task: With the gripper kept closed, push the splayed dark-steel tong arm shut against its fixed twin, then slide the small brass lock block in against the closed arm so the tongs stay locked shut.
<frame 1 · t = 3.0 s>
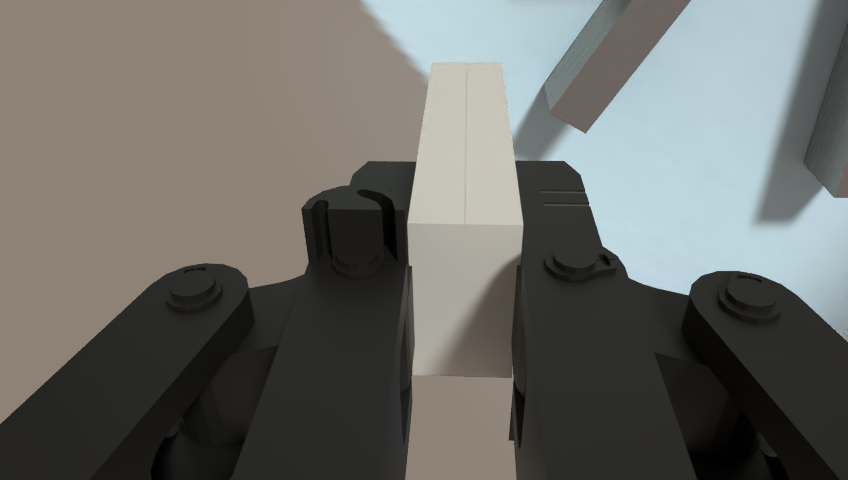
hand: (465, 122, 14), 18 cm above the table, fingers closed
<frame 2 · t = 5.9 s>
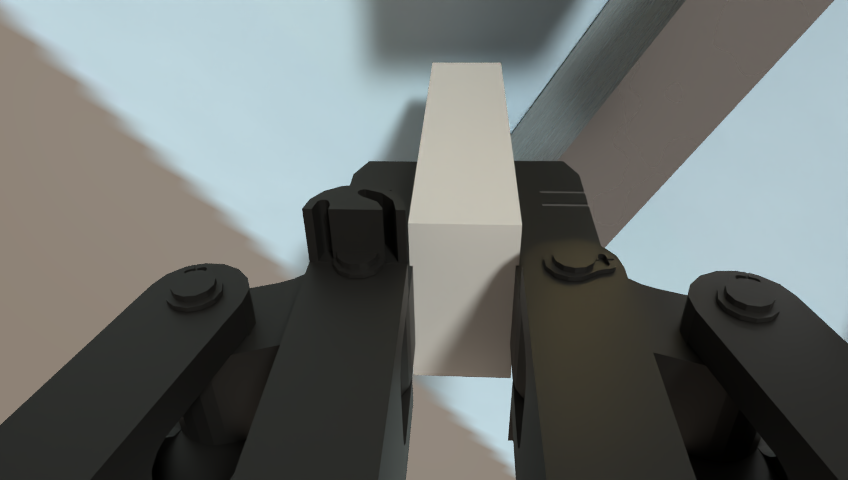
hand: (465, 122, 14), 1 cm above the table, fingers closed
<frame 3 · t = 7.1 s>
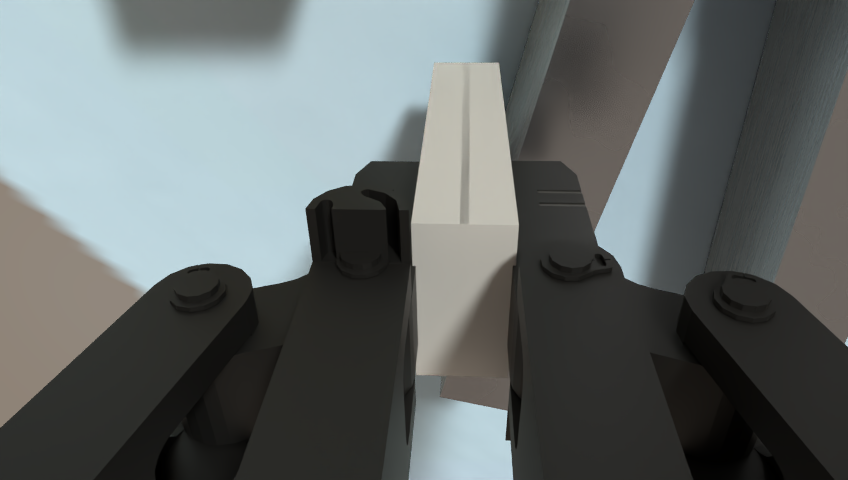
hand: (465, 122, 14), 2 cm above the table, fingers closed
tong arm: (601, 20, 13), point 2 cm above the table, hinge at 13.4°, touching gripper
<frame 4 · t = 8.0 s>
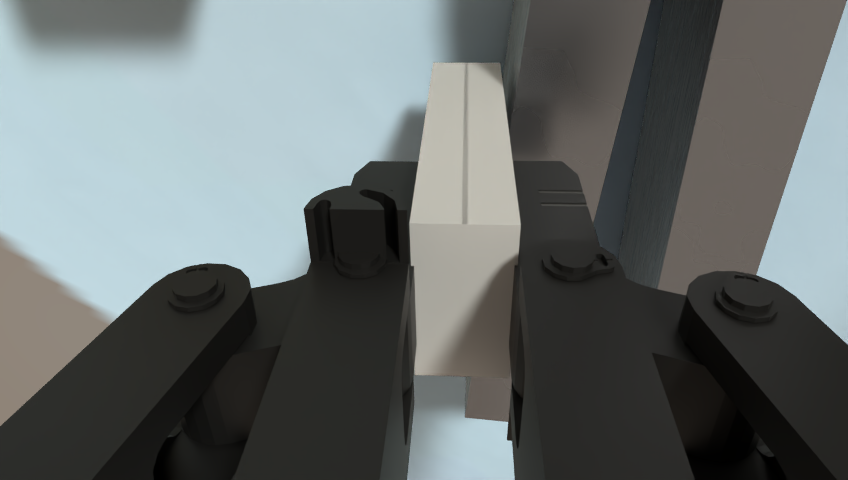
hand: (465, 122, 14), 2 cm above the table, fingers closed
tong arm: (566, 41, 13), point 2 cm above the table, hinge at 5.2°, touching gripper
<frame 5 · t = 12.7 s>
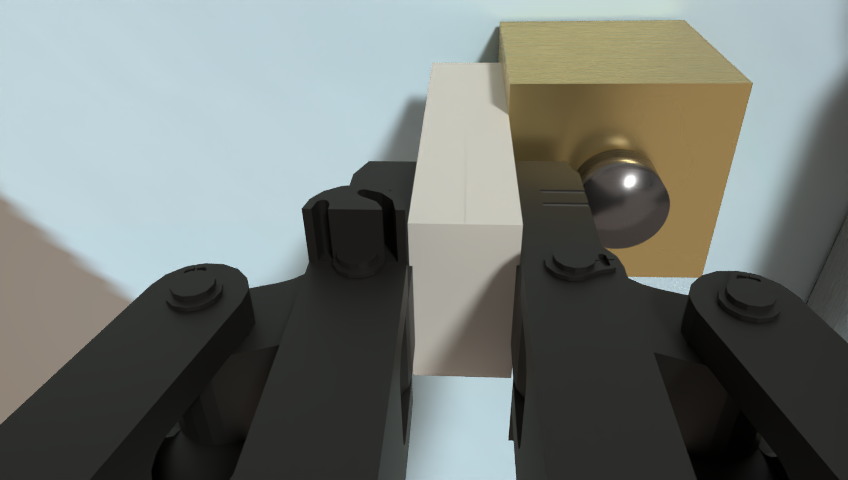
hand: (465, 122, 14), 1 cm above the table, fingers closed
lock block: (598, 151, 13), point 2 cm above the table, slide at 1.4 cm, touching gripper
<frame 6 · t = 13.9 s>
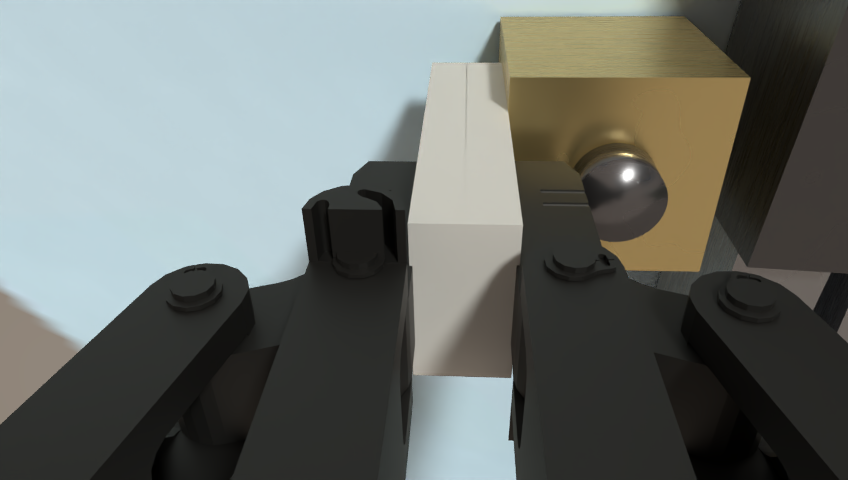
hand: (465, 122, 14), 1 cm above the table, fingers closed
lock block: (598, 145, 13), point 2 cm above the table, slide at 5.5 cm, touching gripper
tong arm: (715, 335, 16), point 2 cm above the table, hinge at 3.2°
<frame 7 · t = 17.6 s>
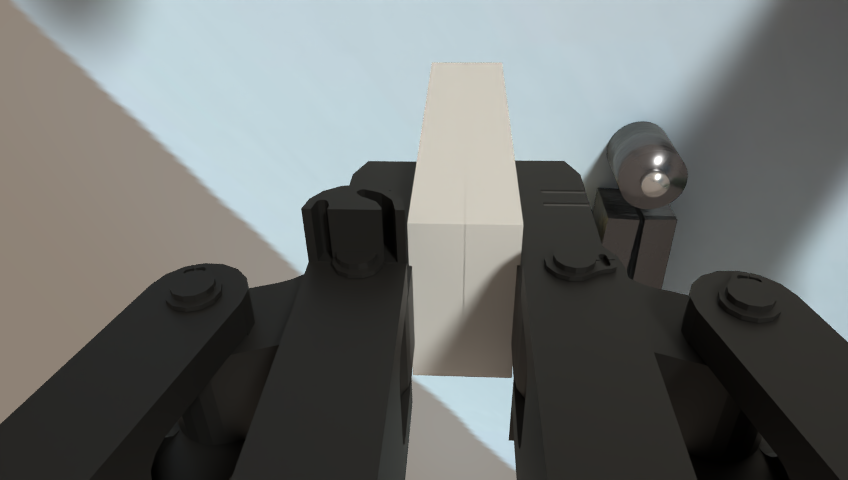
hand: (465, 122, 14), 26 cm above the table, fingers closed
tong arm: (592, 313, 48), point 2 cm above the table, hinge at 3.2°
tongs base: (637, 149, 43), on the table
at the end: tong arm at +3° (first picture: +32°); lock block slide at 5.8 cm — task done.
